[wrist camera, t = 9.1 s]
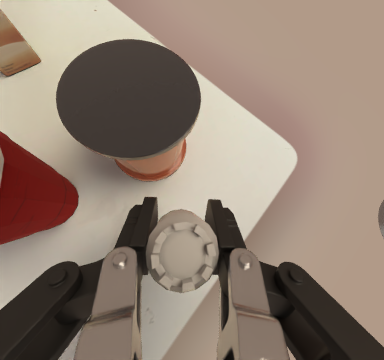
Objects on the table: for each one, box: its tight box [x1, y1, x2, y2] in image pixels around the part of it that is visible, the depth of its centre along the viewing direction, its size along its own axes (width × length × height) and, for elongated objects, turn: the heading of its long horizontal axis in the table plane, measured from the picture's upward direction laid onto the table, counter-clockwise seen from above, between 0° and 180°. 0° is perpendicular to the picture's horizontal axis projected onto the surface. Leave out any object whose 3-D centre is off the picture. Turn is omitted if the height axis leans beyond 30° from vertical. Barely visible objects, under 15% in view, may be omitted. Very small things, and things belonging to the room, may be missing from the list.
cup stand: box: [56, 39, 201, 181], centre depth 17 cm, size 11×11×10 cm
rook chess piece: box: [146, 209, 219, 293], centre depth 10 cm, size 4×4×8 cm
